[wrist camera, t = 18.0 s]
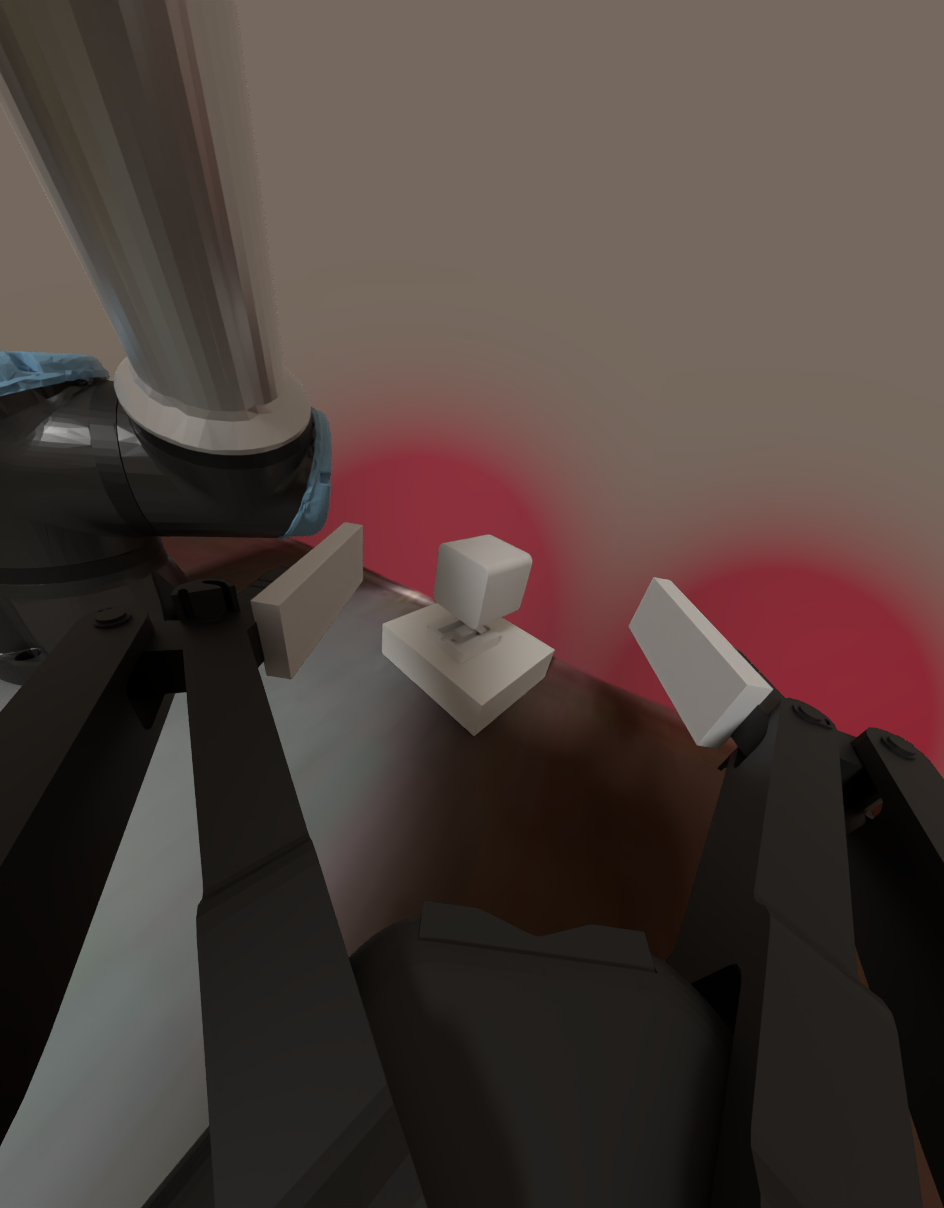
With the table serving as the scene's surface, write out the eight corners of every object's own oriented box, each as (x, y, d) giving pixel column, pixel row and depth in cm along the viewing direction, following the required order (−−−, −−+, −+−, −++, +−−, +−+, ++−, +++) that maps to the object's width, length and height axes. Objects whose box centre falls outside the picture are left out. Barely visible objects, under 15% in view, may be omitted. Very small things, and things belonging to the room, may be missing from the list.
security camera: (511, 641, 36) (534, 556, 31) (463, 666, 32) (481, 571, 26) (470, 612, 40) (486, 531, 34) (422, 631, 35) (432, 541, 30)
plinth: (382, 653, 37) (382, 623, 35) (457, 618, 45) (462, 592, 43) (474, 736, 30) (481, 705, 28) (544, 677, 38) (554, 649, 36)
